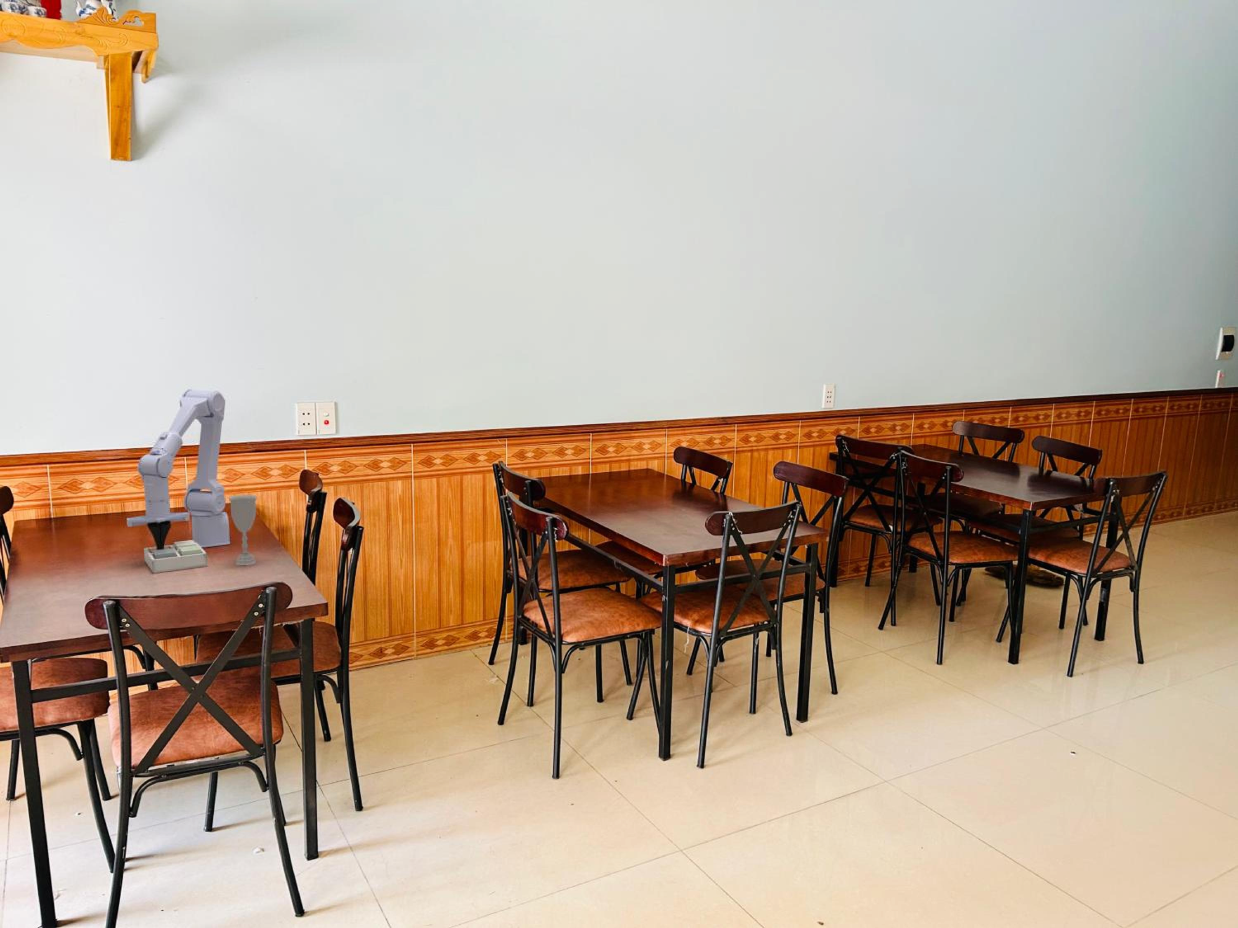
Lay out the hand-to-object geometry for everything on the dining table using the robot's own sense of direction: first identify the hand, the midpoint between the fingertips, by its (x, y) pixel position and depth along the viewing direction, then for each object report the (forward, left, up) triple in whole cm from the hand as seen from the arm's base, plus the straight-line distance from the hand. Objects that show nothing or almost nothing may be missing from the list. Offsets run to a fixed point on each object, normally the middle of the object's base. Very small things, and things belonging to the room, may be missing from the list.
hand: (160, 549), depth 239 cm
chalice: (-19, +11, -4) cm, 22 cm away
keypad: (-3, +3, -3) cm, 6 cm away
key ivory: (-6, 0, -1) cm, 6 cm away
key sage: (-6, +6, -2) cm, 9 cm away
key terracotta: (0, 0, -2) cm, 2 cm away
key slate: (0, +6, -1) cm, 6 cm away
